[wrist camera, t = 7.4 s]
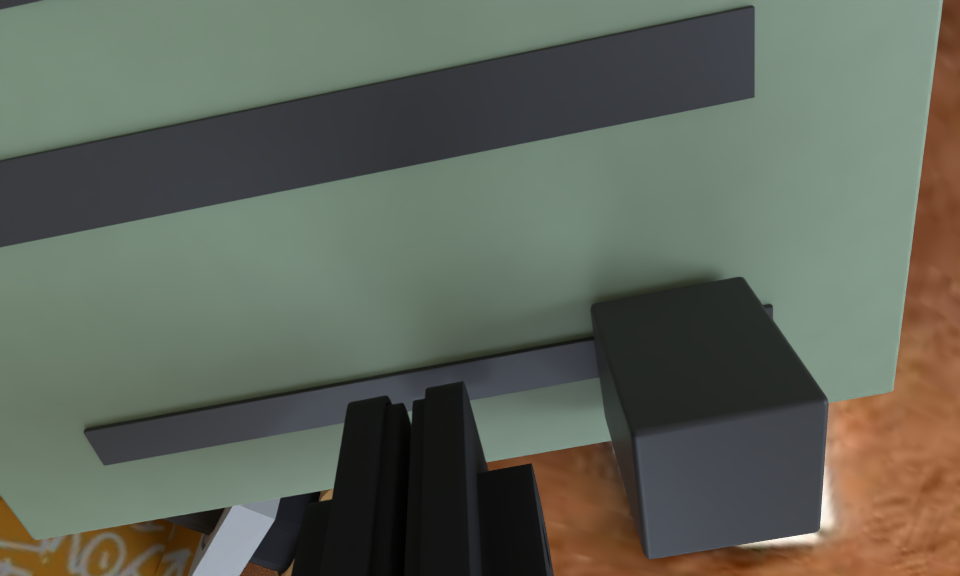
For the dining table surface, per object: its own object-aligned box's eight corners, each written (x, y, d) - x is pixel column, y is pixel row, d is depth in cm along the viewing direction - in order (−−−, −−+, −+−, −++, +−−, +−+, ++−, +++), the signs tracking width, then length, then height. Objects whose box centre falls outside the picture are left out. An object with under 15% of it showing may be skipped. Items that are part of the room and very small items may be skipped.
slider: (589, 301, 12) (630, 434, 9) (743, 272, 11) (832, 399, 9) (604, 417, 13) (645, 563, 10) (744, 392, 13) (822, 534, 10)
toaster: (-2, -183, 17) (-547, -212, 8) (687, -345, 16) (1030, -604, 7) (197, 260, 23) (30, 547, 14) (704, 161, 22) (898, 397, 13)
